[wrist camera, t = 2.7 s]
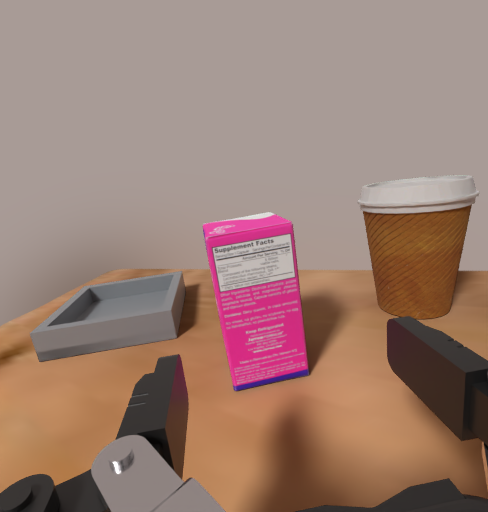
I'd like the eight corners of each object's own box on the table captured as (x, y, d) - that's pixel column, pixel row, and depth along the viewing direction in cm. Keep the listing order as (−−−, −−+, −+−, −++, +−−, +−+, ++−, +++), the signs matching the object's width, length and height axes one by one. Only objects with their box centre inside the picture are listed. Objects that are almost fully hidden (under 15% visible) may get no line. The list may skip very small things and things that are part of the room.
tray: (185, 291, 43) (182, 271, 42) (176, 338, 30) (171, 310, 29) (90, 307, 42) (84, 286, 41) (39, 361, 29) (29, 333, 28)
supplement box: (223, 351, 27) (201, 221, 24) (288, 337, 28) (274, 210, 25) (230, 394, 21) (204, 234, 19) (312, 377, 22) (298, 219, 19)
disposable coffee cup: (349, 317, 30) (343, 192, 27) (373, 283, 37) (371, 181, 34) (471, 337, 24) (482, 181, 21) (471, 292, 32) (479, 171, 28)
